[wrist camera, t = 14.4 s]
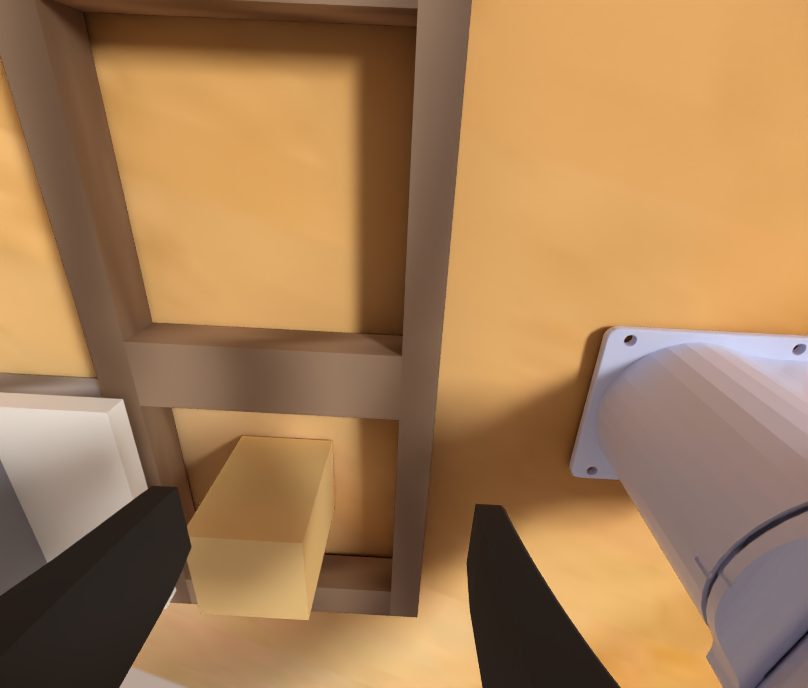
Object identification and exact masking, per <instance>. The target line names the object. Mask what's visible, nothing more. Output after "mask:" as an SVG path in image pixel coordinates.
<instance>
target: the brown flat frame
mask: <svg viewBox="0 0 808 688" xmlns="http://www.w3.org/2000/svg"><path fill="white" fill-rule="evenodd" d="M471 4H472V0H0V56H1V59H2V62H3V66H4V69H5V72H6V76H7V79H8V82H9V86H10V89H11V92H12V96H13V99H14V102H15V106H16V109H17V112H18V116H19V119H20V122H21V126H22V129H23V132H24V136H25V139H26V142H27V145H28V149H29V152H30V155H31V159H32V162H33V165H34V169H35V172H36V175H37V179H38V182H39V185H40V189H41V192H42V195H43V199H44V202H45V205H46V209H47V212H48V215H49V219H50V222H51V225H52V229H53V232H54V235H55V238H56V242H57V245H58V248H59V252H60V255H61V258H62V262H63V265H64V268H65V272H66V275H67V278H68V282H69V285H70V288H71V292H72V295H73V298H74V302H75V305H76V308H77V312H78V315H79V318H80V322H81V325H82V328H83V331H84V335H85V338H86V341H87V345H88V348H89V351H90V355H91V358H92V361H93V365H94V368H95V371H96V375H97V378H80V377H62V376H43V375H25V374H6V373H0V392H3V393H21V394H39V395H58V396H76V397H94V398H113V399H123V401H124V405H125V408H126V412H127V415H128V419H129V422H130V426H131V430H132V433H133V437H134V440H135V444H136V448H137V451H138V455H139V458H140V462H141V466H142V469H143V473H144V476H145V480H146V483H147V487H148V488H150V487H151V486H167V487H177V488H178V492H179V496H180V500H181V504H182V509H183V513H184V517H185V521H186V525H188V524H189V522H190V520H191V519H192V517H193V516H194V514H195V510H194V506H193V501H192V497H191V492H190V488H189V483H188V479H187V475H186V470H185V466H184V461H183V457H182V452H181V448H180V443H179V439H178V434H177V430H176V425H175V421H174V417H173V412H172V408H189V409H207V410H226V411H244V412H262V413H281V414H299V415H317V416H335V417H354V418H372V419H390V420H399V430H398V452H397V474H396V496H395V518H394V540H393V559H390V558H373V557H356V556H339V555H324V556H323V561H322V565H321V569H320V574H319V578H318V582H317V587H316V591H315V595H314V599H313V604H312V608H311V611H320V612H337V613H353V614H370V615H387V616H403V617H417V614H418V603H419V592H420V580H421V569H422V558H423V547H424V535H425V524H426V513H427V501H428V490H429V479H430V467H431V456H432V445H433V433H434V422H435V411H436V400H437V388H438V377H439V366H440V354H441V343H442V332H443V320H444V309H445V298H446V287H447V275H448V264H449V253H450V241H451V230H452V219H453V207H454V196H455V185H456V174H457V162H458V151H459V140H460V128H461V117H462V106H463V94H464V83H465V72H466V60H467V49H468V38H469V27H470V15H471ZM83 12H99V13H121V14H144V15H167V16H189V17H212V18H235V19H257V20H280V21H303V22H325V23H348V24H371V25H394V26H416V27H417V35H416V57H415V79H414V101H413V123H412V145H411V167H410V189H409V211H408V233H407V255H406V277H405V299H404V321H403V336H397V335H378V334H359V333H340V332H321V331H302V330H283V329H264V328H245V327H226V326H207V325H188V324H169V323H152V318H151V314H150V309H149V305H148V301H147V296H146V292H145V287H144V283H143V278H142V274H141V269H140V265H139V260H138V256H137V251H136V247H135V243H134V238H133V234H132V229H131V225H130V220H129V216H128V211H127V207H126V202H125V198H124V193H123V189H122V184H121V180H120V176H119V171H118V167H117V162H116V158H115V153H114V149H113V144H112V140H111V135H110V131H109V126H108V122H107V118H106V113H105V109H104V104H103V100H102V95H101V91H100V86H99V82H98V77H97V73H96V68H95V64H94V60H93V55H92V51H91V46H90V42H89V37H88V33H87V28H86V24H85V19H84V15H83ZM175 588H176V592H175V594H174V596H173V598H172V599H171V601H170V603H187V604H198V602H197V598H196V594H195V590H194V586H193V582H192V578H191V575H190V571H189V567H188V563H187V560H186V562H185V565H184V567H183V570H182V572H181V574H180V577H179V579H178V581H177V583H176V586H175Z"/></svg>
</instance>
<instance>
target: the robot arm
mask: <svg viewBox="0 0 808 688" xmlns="http://www.w3.org/2000/svg"><path fill="white" fill-rule="evenodd" d="M629 335H633V337H632V339H631V340H630V341H629V342H624V340H625V338H626V337H627V336H629ZM796 345H798V347H797V348H796V349H794V350H793V348H794V347H795V346H796ZM590 467H593V468H592V469H589V470H587V469H588V468H590ZM569 469H570V471H571V473H572V475H574V476H575V477H579V478H595V479H613V480H620V481H621V483H622V485H623V486H624V488H625V490H626V491H627V493H628V495H629V496H630V498H631V500H632V501H633V503H634V505H635V506H636V508H637V510H638V511H639V513H640V514H641V516H642V518H643V519H644V521H645V523H646V524H647V526H648V528H649V529H650V531H651V533H652V534H653V536H654V538H655V539H656V541H657V543H658V544H659V546H660V548H661V549H662V551H663V553H664V554H665V556H666V558H667V559H668V561H669V563H670V564H671V566H672V568H673V569H674V571H675V573H676V574H677V576H678V578H679V579H680V581H681V583H682V584H683V586H684V588H685V589H686V591H687V593H688V594H689V596H690V598H691V599H692V601H693V603H694V604H695V606H696V608H697V609H698V611H699V613H700V614H701V616H702V618H703V619H704V621H705V622H706V624H707V625H708V627H709V628H710V631H711V634H712V637H713V644H712V647H711V649H710V651H709V652H708V654H707V656H706V658H707V660H708V661H709V663H710V665H711V667H712V669H713V670H714V672H715V674H716V676H717V678H718V679H719V681H720V683H721V685H722V686H723V688H808V336H805V335H786V334H766V333H747V332H728V331H709V330H689V329H670V328H651V327H632V326H613V327H611V328H609V329H608V330H607V331H606V332H605V333H604V335H603V339H602V343H601V346H600V350H599V354H598V358H597V361H596V365H595V369H594V373H593V377H592V380H591V384H590V388H589V392H588V396H587V399H586V403H585V407H584V411H583V414H582V418H581V422H580V426H579V430H578V433H577V437H576V441H575V445H574V449H573V452H572V456H571V460H570V464H569ZM191 548H192V546H191V542H190V538H189V534H188V529H187V525H186V521H185V517H184V513H183V509H182V504H181V500H180V496H179V492H178V488H177V487H167V486H151V487H150V488H148V489H147V490H146V491H144V492H143V493H141V494H140V495H139V496H137V497H136V498H135V499H133V500H132V501H131V502H129V503H128V504H127V505H125V506H124V507H123V508H121V509H120V510H119V511H117V512H116V513H115V514H113V515H112V516H111V517H109V518H108V519H107V520H105V521H104V522H103V523H101V524H100V525H99V526H97V527H96V528H95V529H93V530H92V531H91V532H89V533H88V534H87V535H85V536H84V537H82V538H81V539H80V540H78V541H77V542H76V543H74V544H73V545H72V546H70V547H69V548H68V549H66V550H65V551H63V552H62V553H61V554H59V555H58V556H57V557H55V558H54V559H53V560H51V561H50V562H48V563H47V564H45V565H44V566H42V567H41V568H40V569H38V570H37V571H35V572H34V573H32V574H31V575H29V576H28V577H27V578H25V579H24V580H22V581H21V582H19V583H18V584H16V585H15V586H14V587H12V588H11V589H9V590H8V591H6V592H5V593H3V594H2V595H1V596H0V688H119V687H120V685H121V683H122V682H123V680H124V678H125V676H126V674H127V673H128V671H129V669H130V668H131V666H132V664H133V662H134V661H135V659H136V657H137V655H138V653H139V652H140V650H141V648H142V646H143V645H144V643H145V641H146V639H147V638H148V636H149V634H150V632H151V630H152V629H153V627H154V625H155V623H156V621H157V620H158V618H159V616H160V614H161V612H162V611H163V609H164V607H165V605H166V603H167V602H168V600H169V598H170V596H171V594H172V592H173V590H174V588H175V586H176V583H177V581H178V579H179V577H180V574H181V572H182V570H183V567H184V565H185V562H186V560H187V557H188V555H189V552H190V550H191ZM467 576H468V592H469V605H470V614H471V620H472V626H473V632H474V638H475V645H476V651H477V657H478V663H479V669H480V675H481V681H482V687H483V688H621V687H620V686H619V685H618V684H617V682H616V681H615V680H614V678H613V677H612V676H611V675H610V673H609V672H608V671H607V669H606V668H605V667H604V666H603V664H602V663H601V662H600V660H599V659H598V658H597V656H596V655H595V654H594V652H593V651H592V649H591V648H590V647H589V645H588V644H587V643H586V641H585V640H584V638H583V637H582V635H581V634H580V633H579V631H578V630H577V628H576V627H575V625H574V624H573V623H572V621H571V620H570V618H569V617H568V615H567V614H566V612H565V611H564V609H563V608H562V606H561V605H560V603H559V602H558V600H557V599H556V597H555V596H554V594H553V592H552V591H551V589H550V588H549V586H548V585H547V583H546V581H545V580H544V578H543V577H542V575H541V573H540V572H539V570H538V569H537V567H536V565H535V564H534V562H533V560H532V558H531V557H530V555H529V553H528V551H527V550H526V548H525V546H524V545H523V543H522V541H521V539H520V537H519V536H518V534H517V532H516V530H515V528H514V526H513V524H512V522H511V520H510V518H509V517H508V515H507V512H506V510H505V509H504V508H503V507H502V506H501V505H484V504H476V505H475V512H474V518H473V525H472V531H471V538H470V545H469V551H468V558H467Z"/></svg>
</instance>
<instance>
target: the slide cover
mask: <svg viewBox="0 0 808 688" xmlns="http://www.w3.org/2000/svg"><path fill="white" fill-rule="evenodd" d="M147 489H148V487H147V483H146V480H145V476H144V473H143V469H142V466H141V462H140V458H139V455H138V451H137V448H136V444H135V440H134V437H133V433H132V430H131V426H130V422H129V419H128V415H127V412H126V408H125V405H124V401H123V399H113V398H94V397H76V396H58V395H39V394H21V393H3V392H0V596H1V595H2V594H3V593H5V592H6V591H8V590H9V589H11V588H12V587H14V586H15V585H16V584H18V583H19V582H21V581H22V580H24V579H25V578H27V577H28V576H29V575H31V574H32V573H34V572H35V571H37V570H38V569H40V568H41V567H42V566H44V565H45V564H47V563H48V562H50V561H51V560H53V559H54V558H55V557H57V556H58V555H59V554H61V553H62V552H63V551H65V550H66V549H68V548H69V547H70V546H72V545H73V544H74V543H76V542H77V541H78V540H80V539H81V538H82V537H84V536H85V535H87V534H88V533H89V532H91V531H92V530H93V529H95V528H96V527H97V526H99V525H100V524H101V523H103V522H104V521H105V520H107V519H108V518H109V517H111V516H112V515H113V514H115V513H116V512H117V511H119V510H120V509H121V508H123V507H124V506H125V505H127V504H128V503H129V502H131V501H132V500H133V499H135V498H136V497H137V496H139V495H140V494H141V493H143V492H144V491H146V490H147ZM175 592H176V588H174V590H173V592H172V594H171V596H170V598H169V600H168V602H167V603H166V605H165V607H164V609H167V607H168V605H169V603H170V601H171V599H172V598H173V596H174V594H175Z"/></svg>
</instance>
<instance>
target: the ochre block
mask: <svg viewBox="0 0 808 688" xmlns="http://www.w3.org/2000/svg"><path fill="white" fill-rule="evenodd" d="M334 509H335V501H334V472H333V444H332V441H329V440H311V439H293V438H274V437H256V436H242V437H241V438H240V440H239V442H238V443H237V445H236V447H235V448H234V450H233V452H232V453H231V455H230V456H229V458H228V460H227V461H226V463H225V465H224V466H223V468H222V470H221V471H220V473H219V475H218V476H217V478H216V479H215V481H214V483H213V484H212V486H211V488H210V489H209V491H208V493H207V494H206V496H205V497H204V499H203V501H202V502H201V504H200V506H199V507H198V509H197V511H196V512H195V514H194V516H193V517H192V519H191V520H190V522H189V524H188V525H187V529H188V534H189V538H190V542H191V546H192V548H191V550H190V552H189V555H188V557H187V563H188V567H189V571H190V575H191V578H192V582H193V586H194V590H195V594H196V598H197V602H198V606H199V610H200V614H213V615H230V616H246V617H263V618H280V619H297V620H309V617H310V612H311V608H312V604H313V599H314V595H315V591H316V587H317V582H318V578H319V574H320V569H321V565H322V561H323V556H324V552H325V548H326V543H327V539H328V535H329V531H330V526H331V522H332V518H333V513H334Z"/></svg>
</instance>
